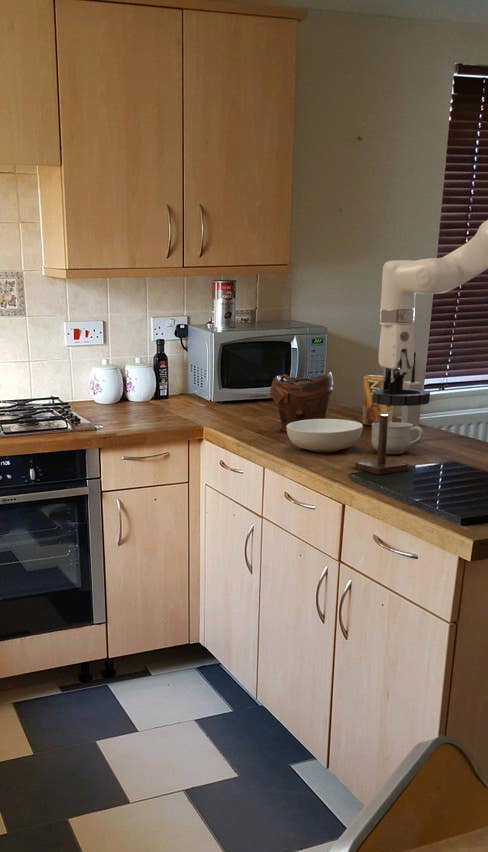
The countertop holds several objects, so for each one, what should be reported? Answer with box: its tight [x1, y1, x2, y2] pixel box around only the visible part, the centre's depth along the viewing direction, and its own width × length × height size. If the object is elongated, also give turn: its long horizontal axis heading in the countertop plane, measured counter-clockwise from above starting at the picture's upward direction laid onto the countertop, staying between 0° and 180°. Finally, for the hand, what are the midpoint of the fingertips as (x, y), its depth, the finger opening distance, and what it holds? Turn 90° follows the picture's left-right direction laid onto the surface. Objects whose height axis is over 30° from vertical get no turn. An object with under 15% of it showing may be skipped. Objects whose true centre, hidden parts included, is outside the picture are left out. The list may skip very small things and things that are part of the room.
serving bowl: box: [286, 418, 364, 453], centre depth 243 cm, size 21×21×7 cm
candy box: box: [361, 374, 394, 426], centre depth 277 cm, size 9×4×15 cm, turn 44°
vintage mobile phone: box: [400, 351, 423, 441], centre depth 248 cm, size 4×5×25 cm
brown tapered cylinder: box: [269, 371, 334, 433], centre depth 271 cm, size 18×20×18 cm
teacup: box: [371, 421, 425, 455], centre depth 234 cm, size 14×11×8 cm
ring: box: [373, 389, 431, 407], centre depth 200 cm, size 12×12×2 cm
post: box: [355, 414, 409, 475], centre depth 216 cm, size 9×9×14 cm
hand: (392, 398), depth 205 cm, fingers closed on ring, 2 cm apart
